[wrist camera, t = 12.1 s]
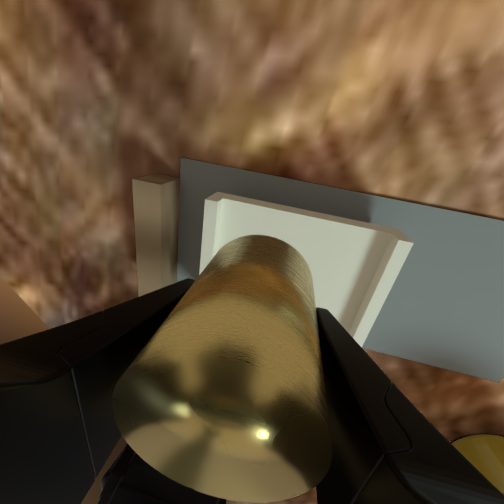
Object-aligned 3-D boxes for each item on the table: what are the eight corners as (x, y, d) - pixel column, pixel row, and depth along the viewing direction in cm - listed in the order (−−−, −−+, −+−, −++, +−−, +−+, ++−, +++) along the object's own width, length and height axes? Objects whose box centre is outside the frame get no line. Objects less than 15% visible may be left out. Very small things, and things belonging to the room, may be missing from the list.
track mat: (497, 381, 21) (498, 382, 21) (177, 299, 23) (176, 300, 23) (623, 243, 15) (626, 244, 15) (181, 157, 18) (180, 157, 18)
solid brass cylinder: (299, 336, 11) (300, 523, 5) (205, 314, 11) (119, 467, 6) (325, 247, 9) (368, 394, 4) (212, 224, 10) (100, 326, 4)
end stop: (177, 287, 23) (161, 306, 20) (157, 282, 23) (138, 300, 20) (181, 178, 18) (160, 184, 16) (156, 173, 19) (132, 178, 16)
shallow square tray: (343, 330, 21) (351, 367, 18) (211, 297, 22) (195, 325, 19) (390, 221, 17) (413, 243, 13) (223, 187, 18) (204, 199, 14)
